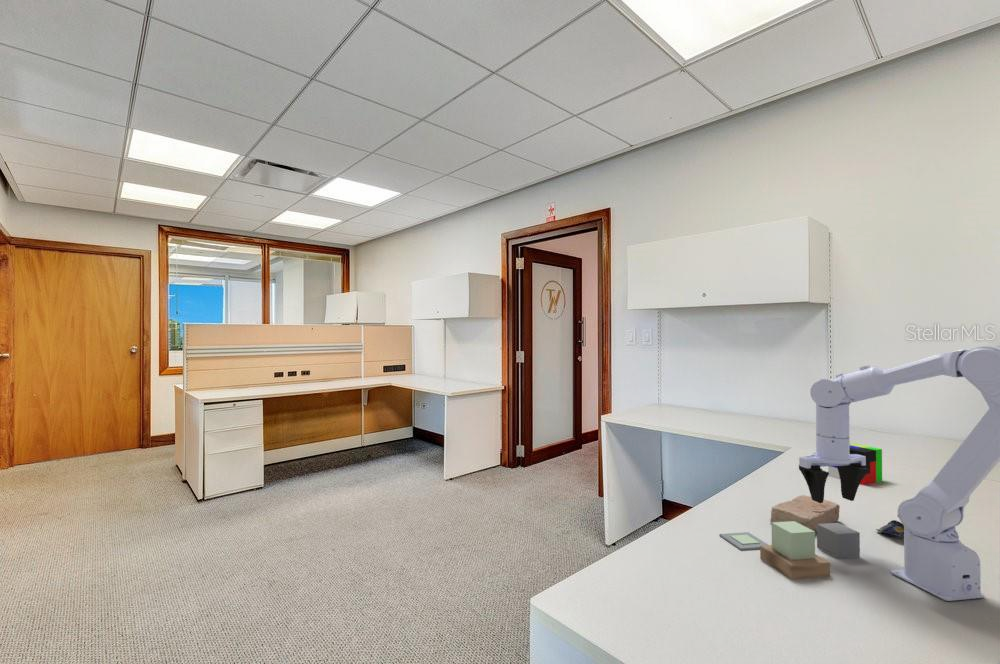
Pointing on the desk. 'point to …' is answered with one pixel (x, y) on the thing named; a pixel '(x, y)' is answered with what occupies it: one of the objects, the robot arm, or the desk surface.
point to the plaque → (743, 540)
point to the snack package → (893, 528)
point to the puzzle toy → (871, 464)
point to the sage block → (793, 540)
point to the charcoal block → (838, 540)
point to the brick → (806, 512)
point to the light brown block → (795, 564)
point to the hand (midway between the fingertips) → (832, 500)
